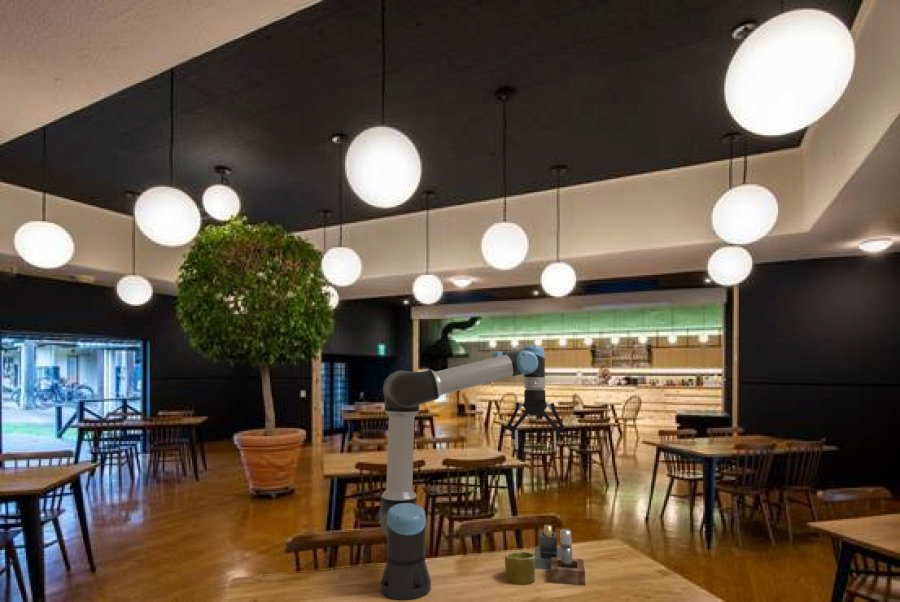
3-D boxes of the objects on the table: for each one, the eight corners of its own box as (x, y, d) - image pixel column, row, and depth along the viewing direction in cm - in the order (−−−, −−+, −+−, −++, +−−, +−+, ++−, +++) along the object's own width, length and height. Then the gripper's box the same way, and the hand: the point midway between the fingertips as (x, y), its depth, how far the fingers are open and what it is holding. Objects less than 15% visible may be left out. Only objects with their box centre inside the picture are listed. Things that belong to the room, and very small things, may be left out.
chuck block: (534, 571, 174) (534, 542, 175) (535, 557, 186) (535, 530, 187) (562, 573, 172) (562, 544, 173) (562, 559, 184) (561, 532, 185)
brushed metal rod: (562, 579, 165) (560, 531, 167) (561, 574, 169) (559, 528, 170) (573, 579, 165) (571, 532, 167) (572, 575, 168) (570, 529, 170)
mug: (540, 585, 159) (530, 549, 163) (507, 593, 161) (498, 557, 164) (544, 577, 170) (534, 544, 174) (513, 585, 172) (504, 552, 175)
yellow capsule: (544, 548, 182) (543, 527, 183) (544, 545, 185) (544, 524, 185) (552, 549, 181) (552, 527, 182) (552, 546, 184) (552, 525, 185)
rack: (551, 586, 163) (551, 568, 163) (551, 573, 172) (551, 557, 173) (585, 588, 161) (584, 571, 161) (583, 575, 171) (583, 559, 171)
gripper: (499, 389, 191) (499, 449, 189) (570, 389, 187) (571, 452, 184) (501, 388, 199) (501, 446, 196) (569, 388, 194) (571, 448, 192)
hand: (535, 449), depth 190 cm, fingers open, 13 cm apart
